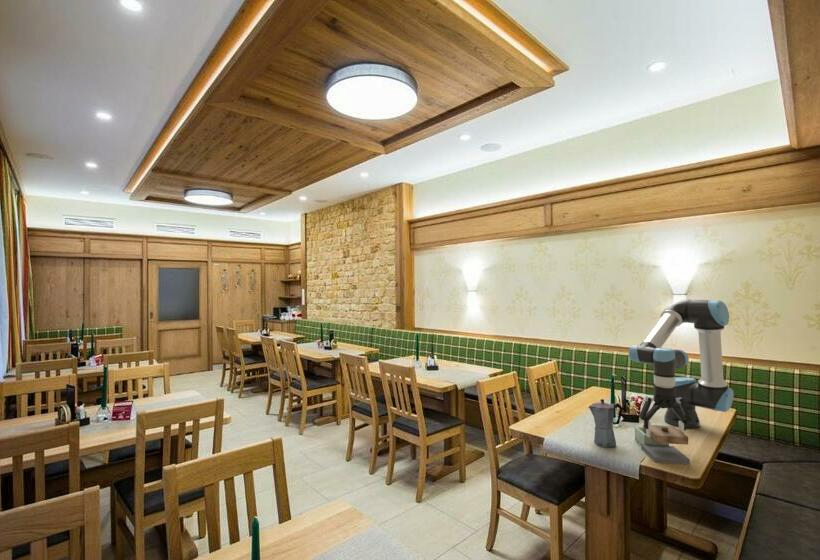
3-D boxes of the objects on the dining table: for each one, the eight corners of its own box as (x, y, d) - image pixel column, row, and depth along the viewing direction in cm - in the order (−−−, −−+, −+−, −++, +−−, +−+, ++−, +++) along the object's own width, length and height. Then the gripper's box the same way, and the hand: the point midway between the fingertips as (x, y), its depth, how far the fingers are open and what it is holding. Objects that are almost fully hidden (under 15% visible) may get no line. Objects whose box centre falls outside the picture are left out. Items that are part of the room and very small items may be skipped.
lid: (673, 432, 172) (673, 422, 172) (688, 444, 160) (688, 433, 160) (643, 431, 174) (643, 421, 174) (655, 443, 162) (655, 432, 162)
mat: (673, 450, 172) (673, 446, 172) (689, 464, 159) (689, 459, 159) (641, 448, 174) (641, 444, 174) (654, 462, 161) (654, 457, 161)
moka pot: (583, 440, 184) (583, 396, 184) (615, 439, 185) (615, 395, 185) (594, 448, 174) (594, 402, 174) (628, 447, 175) (628, 402, 176)
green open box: (658, 440, 183) (658, 427, 183) (669, 450, 173) (669, 436, 173) (634, 439, 184) (634, 426, 184) (644, 448, 174) (644, 434, 174)
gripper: (691, 383, 169) (691, 434, 169) (629, 382, 172) (630, 432, 173) (701, 388, 161) (701, 442, 162) (636, 387, 165) (637, 439, 165)
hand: (664, 437), depth 167 cm, fingers closed on lid, 12 cm apart
